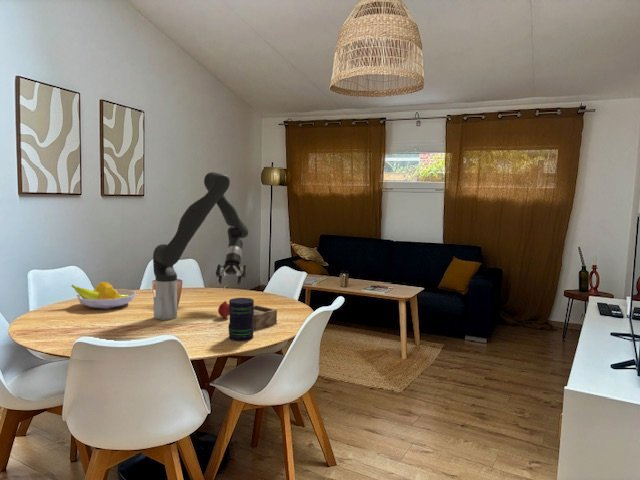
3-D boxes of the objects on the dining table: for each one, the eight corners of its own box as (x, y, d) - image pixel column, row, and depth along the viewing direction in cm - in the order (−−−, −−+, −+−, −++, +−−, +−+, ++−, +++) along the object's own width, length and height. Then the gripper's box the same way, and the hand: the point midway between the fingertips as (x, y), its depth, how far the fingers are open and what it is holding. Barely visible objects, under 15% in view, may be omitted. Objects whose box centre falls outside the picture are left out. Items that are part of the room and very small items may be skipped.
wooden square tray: (255, 330, 194) (255, 315, 193) (234, 324, 201) (234, 310, 201) (276, 324, 204) (276, 309, 203) (255, 318, 212) (256, 305, 211)
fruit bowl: (143, 300, 242) (143, 278, 241) (122, 313, 215) (122, 289, 214) (89, 299, 241) (89, 277, 240) (62, 311, 214) (61, 287, 213)
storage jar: (226, 341, 177) (226, 303, 176) (230, 333, 187) (230, 297, 186) (252, 341, 178) (253, 303, 176) (254, 333, 187) (255, 297, 186)
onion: (220, 320, 207) (220, 302, 206) (216, 317, 212) (216, 300, 211) (232, 319, 209) (232, 301, 209) (229, 316, 214) (229, 299, 214)
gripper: (218, 251, 227) (213, 278, 217) (247, 252, 228) (243, 279, 217) (220, 261, 233) (215, 287, 223) (248, 261, 233) (245, 288, 223)
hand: (229, 283), depth 220 cm, fingers open, 8 cm apart
